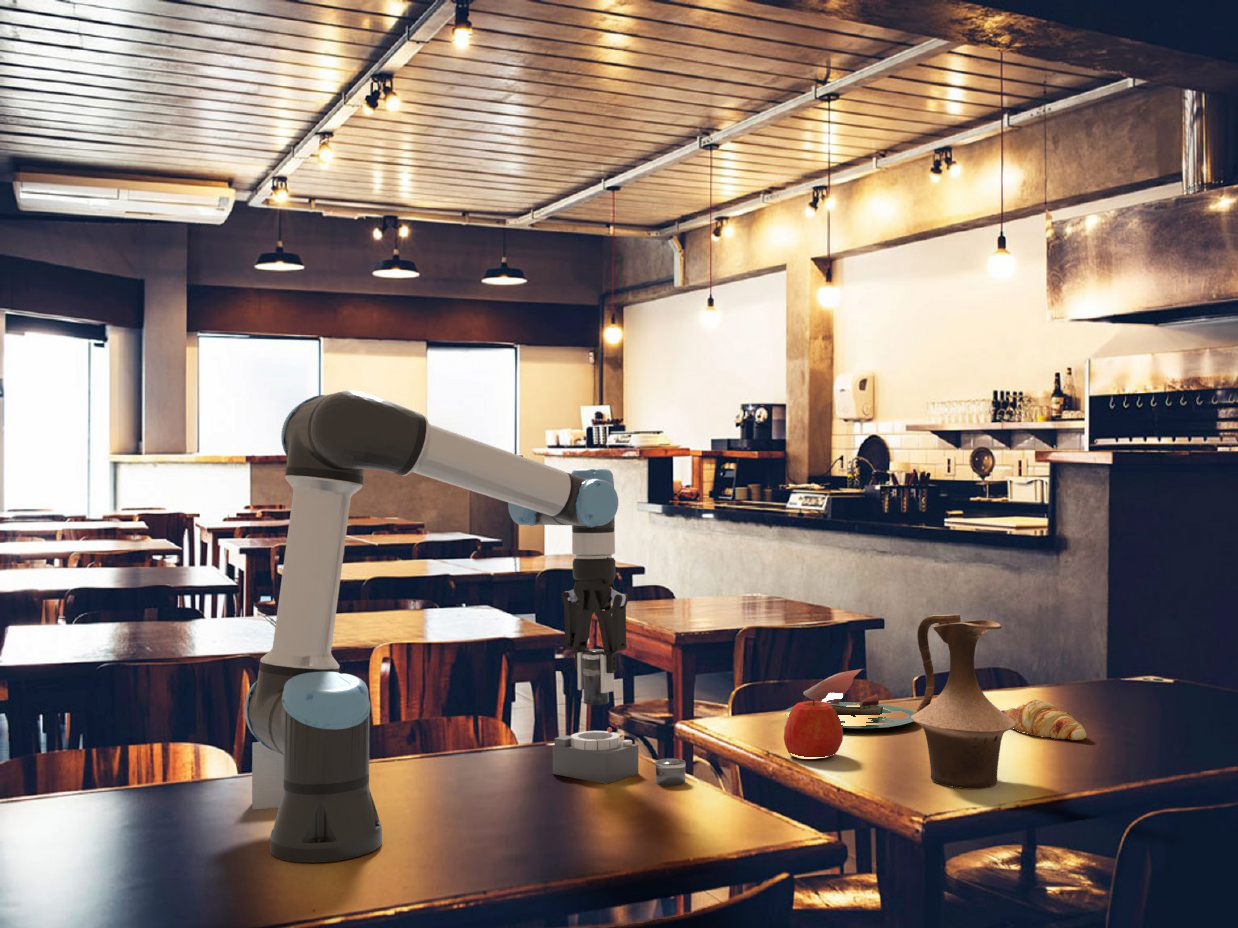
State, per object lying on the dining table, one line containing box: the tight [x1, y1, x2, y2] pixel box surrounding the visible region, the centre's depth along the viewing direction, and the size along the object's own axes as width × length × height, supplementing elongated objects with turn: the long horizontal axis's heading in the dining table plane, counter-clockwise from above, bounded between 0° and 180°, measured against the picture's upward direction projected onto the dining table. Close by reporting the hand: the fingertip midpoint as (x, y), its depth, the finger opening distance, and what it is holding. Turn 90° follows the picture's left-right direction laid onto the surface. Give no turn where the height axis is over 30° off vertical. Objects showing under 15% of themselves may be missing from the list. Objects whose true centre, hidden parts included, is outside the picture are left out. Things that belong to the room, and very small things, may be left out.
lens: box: [582, 648, 610, 706], centre depth 205 cm, size 5×5×9 cm
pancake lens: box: [654, 758, 686, 787], centre depth 198 cm, size 5×5×4 cm
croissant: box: [1001, 699, 1087, 741], centre depth 235 cm, size 21×10×8 cm, turn 30°
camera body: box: [552, 727, 640, 785], centre depth 204 cm, size 9×12×7 cm
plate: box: [784, 668, 915, 729], centre depth 249 cm, size 28×28×11 cm
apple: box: [783, 699, 844, 757], centre depth 216 cm, size 11×11×11 cm
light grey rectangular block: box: [251, 741, 284, 810], centre depth 186 cm, size 4×7×10 cm, turn 107°
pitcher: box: [911, 613, 1016, 790], centre depth 197 cm, size 18×17×28 cm
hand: (595, 689), depth 204 cm, fingers closed on lens, 5 cm apart
